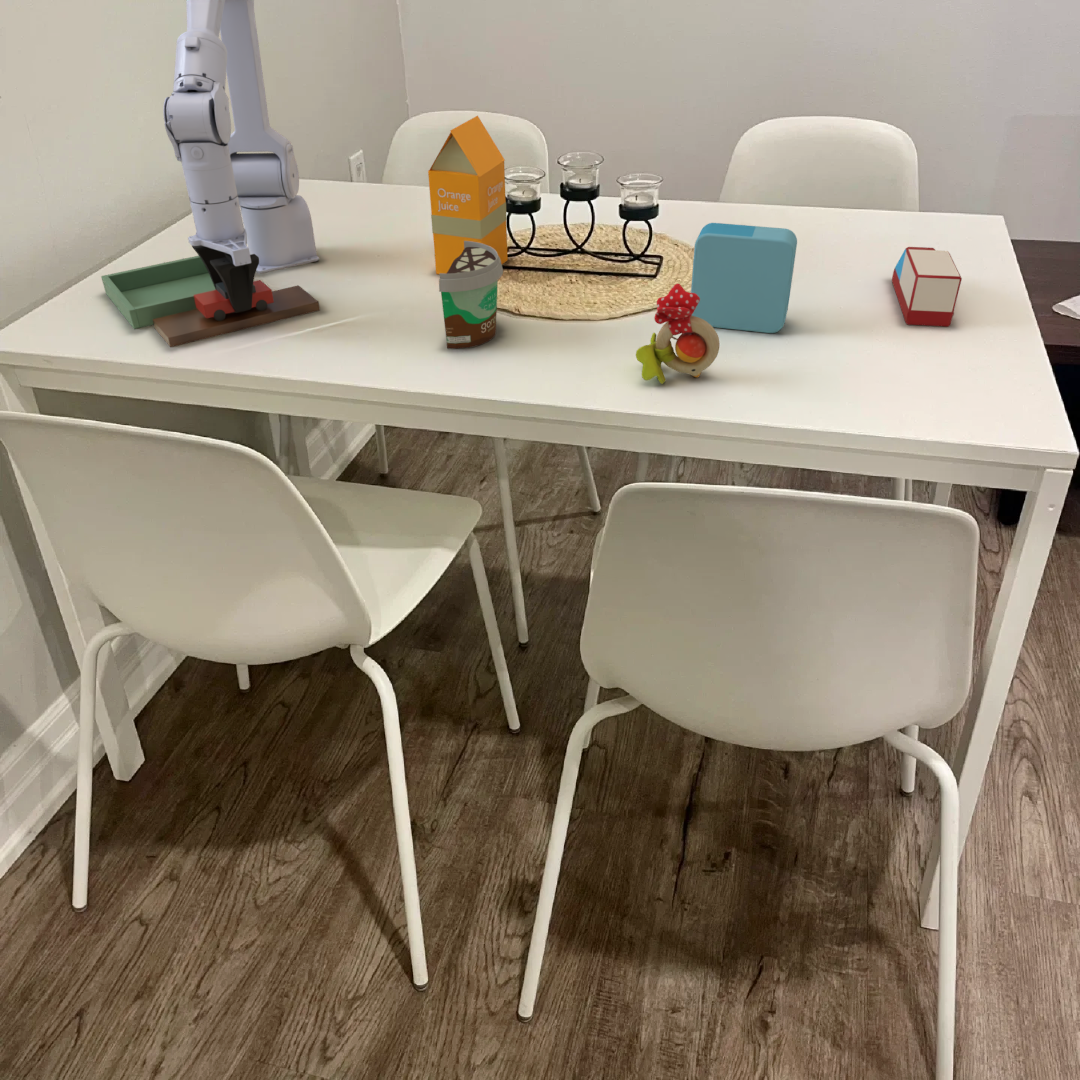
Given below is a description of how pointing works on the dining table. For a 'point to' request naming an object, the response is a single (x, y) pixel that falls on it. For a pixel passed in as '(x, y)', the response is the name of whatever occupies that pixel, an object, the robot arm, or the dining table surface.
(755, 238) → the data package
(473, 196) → the orange juice
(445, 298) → the food container
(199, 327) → the board
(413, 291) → the dining table surface
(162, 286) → the tray
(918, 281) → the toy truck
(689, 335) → the bird rattle
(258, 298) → the toy car
